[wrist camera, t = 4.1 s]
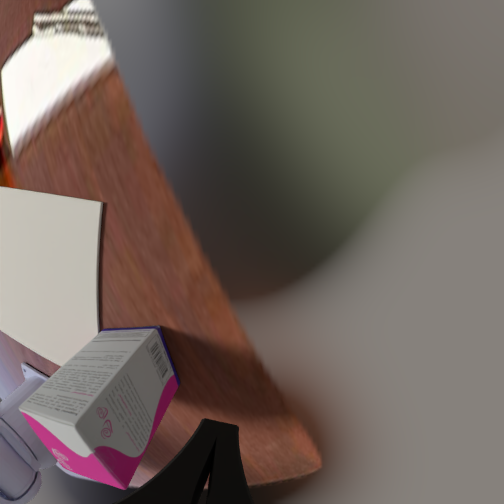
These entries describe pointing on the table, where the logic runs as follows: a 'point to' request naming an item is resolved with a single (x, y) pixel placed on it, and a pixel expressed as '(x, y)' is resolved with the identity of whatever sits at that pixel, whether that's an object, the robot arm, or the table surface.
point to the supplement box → (105, 403)
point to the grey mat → (49, 271)
